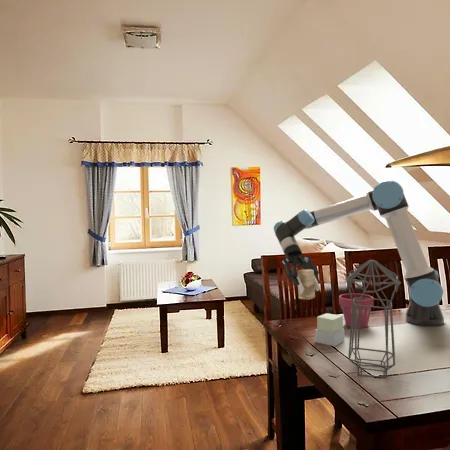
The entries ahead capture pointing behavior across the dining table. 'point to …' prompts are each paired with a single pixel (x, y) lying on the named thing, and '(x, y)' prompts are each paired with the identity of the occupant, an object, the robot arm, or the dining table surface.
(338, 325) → the tower top
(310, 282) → the pillar
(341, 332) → the tower base
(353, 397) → the dining table surface
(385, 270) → the geometric lantern
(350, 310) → the plant pot
